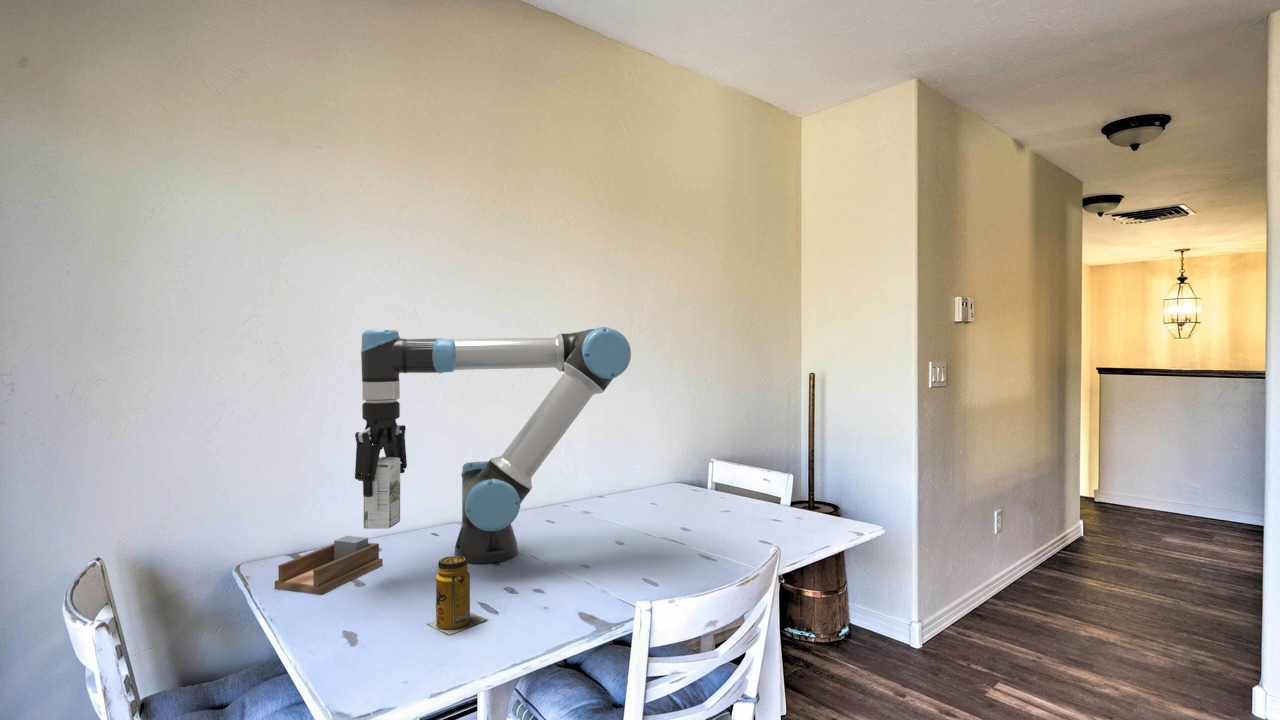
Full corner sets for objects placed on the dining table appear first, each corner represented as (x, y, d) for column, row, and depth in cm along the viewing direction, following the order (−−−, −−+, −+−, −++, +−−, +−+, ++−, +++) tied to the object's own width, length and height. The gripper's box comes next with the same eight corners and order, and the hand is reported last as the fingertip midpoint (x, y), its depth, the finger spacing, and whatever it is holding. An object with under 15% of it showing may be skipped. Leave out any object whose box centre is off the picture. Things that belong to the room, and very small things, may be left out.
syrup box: (375, 521, 143) (374, 456, 143) (401, 521, 143) (400, 456, 143) (363, 529, 138) (362, 461, 137) (390, 529, 137) (389, 461, 137)
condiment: (426, 624, 120) (426, 560, 119) (465, 610, 126) (465, 549, 126) (449, 636, 115) (449, 568, 115) (488, 620, 121) (488, 557, 121)
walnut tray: (382, 565, 151) (382, 544, 151) (321, 594, 133) (321, 570, 133) (339, 560, 155) (339, 539, 155) (274, 588, 137) (274, 564, 136)
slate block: (368, 559, 151) (368, 538, 151) (356, 564, 147) (356, 542, 147) (346, 556, 153) (346, 535, 153) (334, 562, 149) (334, 540, 149)
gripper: (395, 397, 150) (396, 495, 151) (333, 404, 131) (335, 517, 132) (423, 397, 148) (424, 497, 149) (364, 405, 129) (366, 520, 130)
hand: (382, 506), depth 140 cm, fingers closed on syrup box, 7 cm apart
